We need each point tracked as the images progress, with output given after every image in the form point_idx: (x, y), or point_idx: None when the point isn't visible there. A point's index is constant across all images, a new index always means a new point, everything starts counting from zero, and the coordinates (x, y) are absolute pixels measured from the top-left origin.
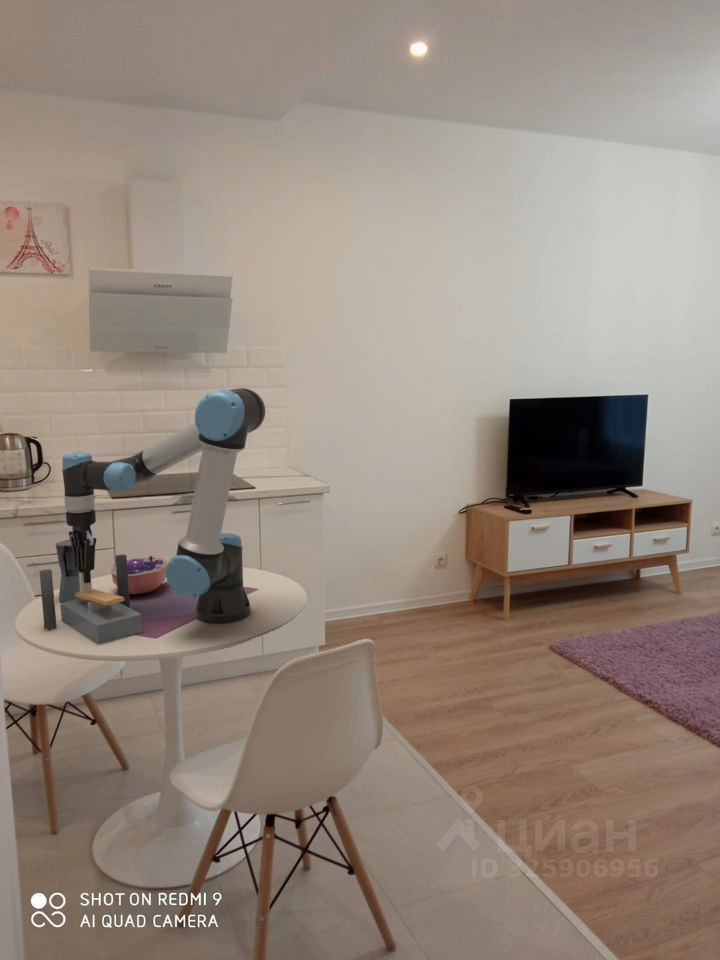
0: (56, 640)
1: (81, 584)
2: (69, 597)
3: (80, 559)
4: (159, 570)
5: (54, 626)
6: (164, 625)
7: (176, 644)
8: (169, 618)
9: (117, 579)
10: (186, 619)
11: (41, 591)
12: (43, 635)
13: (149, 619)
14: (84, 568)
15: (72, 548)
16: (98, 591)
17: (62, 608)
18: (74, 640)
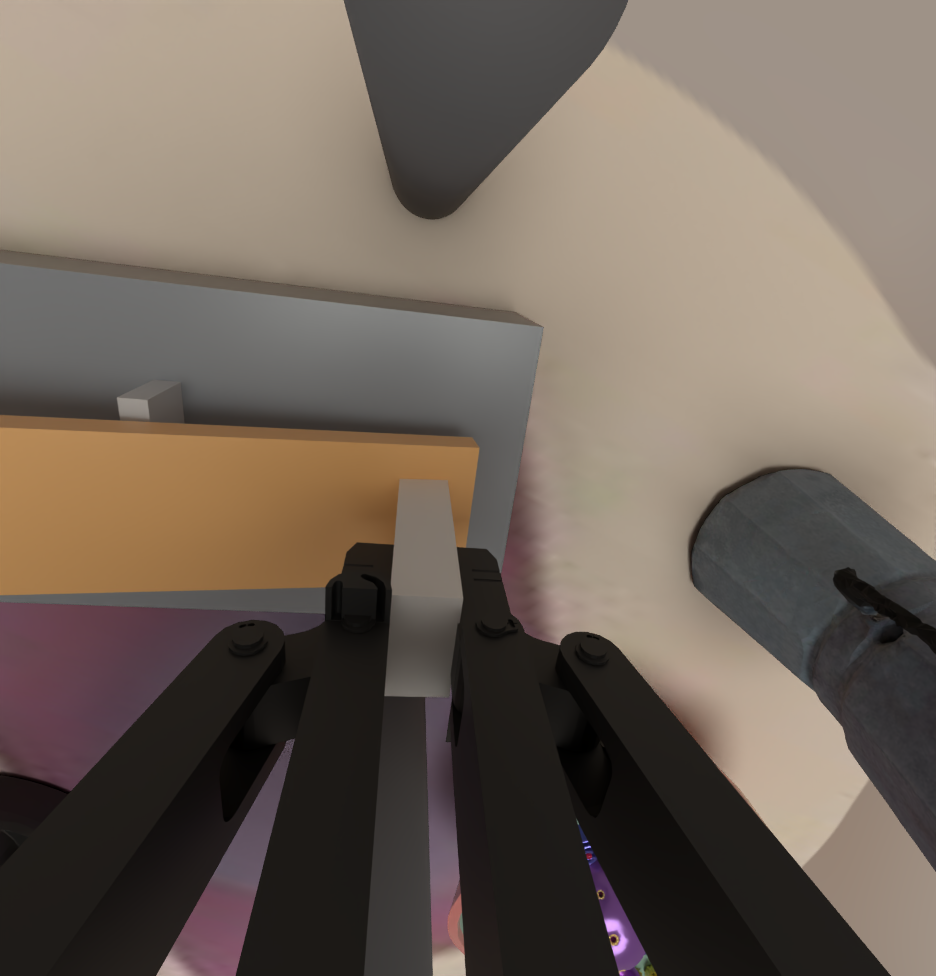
0: (147, 56)
1: (403, 514)
2: (752, 507)
3: (469, 758)
4: (456, 945)
5: (392, 184)
6: (2, 647)
7: None
8: (100, 702)
9: (387, 762)
10: (30, 742)
11: None
12: (330, 47)
13: (154, 640)
14: (238, 647)
15: (813, 918)
16: (301, 573)
17: (497, 318)
18: (59, 158)
